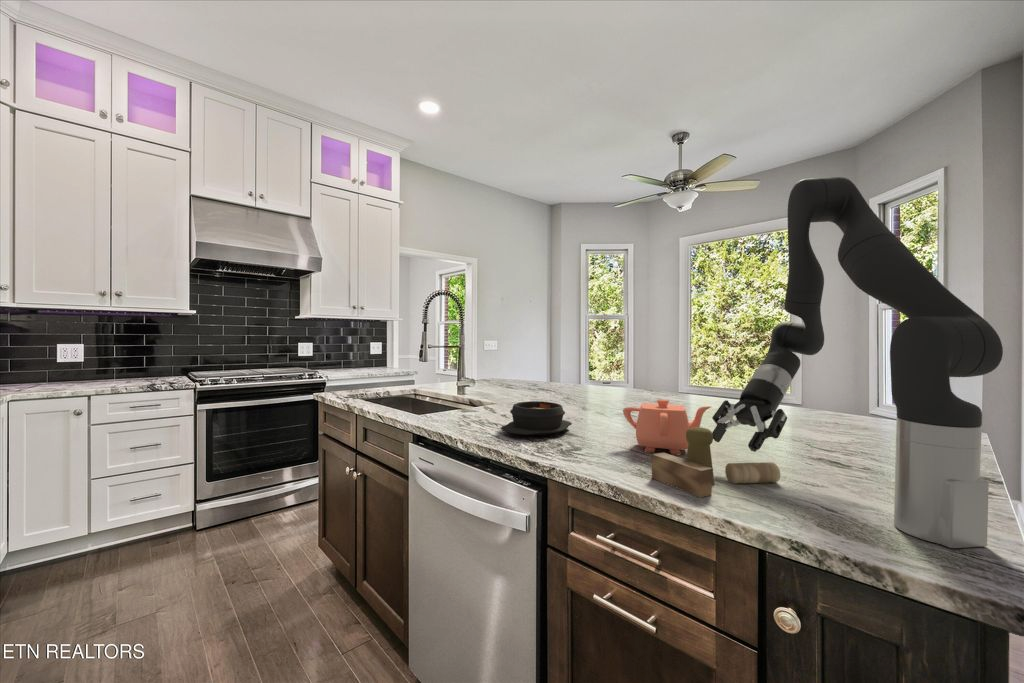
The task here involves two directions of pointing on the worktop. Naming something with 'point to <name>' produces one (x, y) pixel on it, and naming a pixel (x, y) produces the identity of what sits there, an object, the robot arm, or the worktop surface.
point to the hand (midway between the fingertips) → (732, 444)
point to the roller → (752, 472)
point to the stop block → (682, 474)
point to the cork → (699, 446)
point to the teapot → (663, 425)
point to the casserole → (536, 418)
